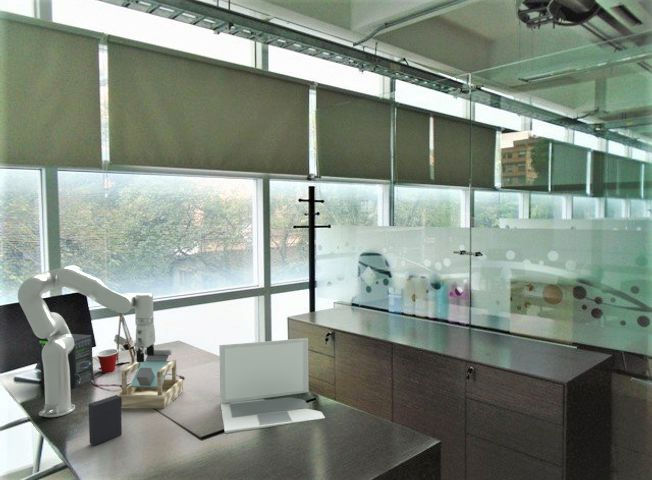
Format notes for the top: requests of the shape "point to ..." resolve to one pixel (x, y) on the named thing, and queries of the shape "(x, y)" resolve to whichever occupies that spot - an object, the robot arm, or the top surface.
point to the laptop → (264, 384)
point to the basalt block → (145, 376)
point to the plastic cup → (107, 360)
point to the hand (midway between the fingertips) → (145, 358)
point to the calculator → (105, 419)
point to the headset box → (76, 360)
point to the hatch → (153, 366)
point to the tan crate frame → (150, 389)
